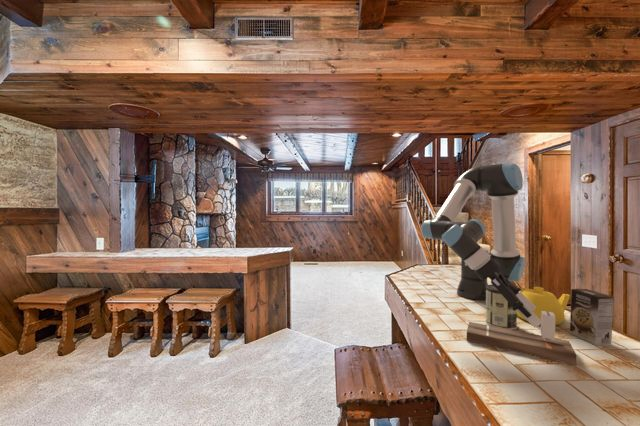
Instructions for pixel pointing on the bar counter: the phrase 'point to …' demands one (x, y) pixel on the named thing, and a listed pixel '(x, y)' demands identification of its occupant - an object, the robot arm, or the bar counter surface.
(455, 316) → the bar counter surface
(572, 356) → the brown slab
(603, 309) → the cookie box
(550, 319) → the fader
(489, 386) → the bar counter surface
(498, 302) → the coffee can
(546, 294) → the teapot
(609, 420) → the bar counter surface
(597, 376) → the bar counter surface
